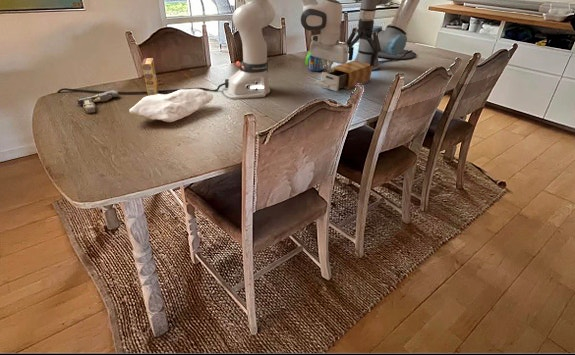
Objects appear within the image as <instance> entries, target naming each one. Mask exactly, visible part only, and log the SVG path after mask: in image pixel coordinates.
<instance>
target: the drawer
mask: <svg viewBox="0 0 575 355" xmlns="http://www.w3.org/2000/svg"><path fill="white" fill-rule="evenodd" d="M320 78H321V79H320V80H316V81H315V82H314V84H315V85H317V86H320V87H321V88H325V89H328V90H331V91H334V92H338V91H339V89H342V87H345V86H348V78H349V73H346V72H342V71H339V70H334V71H333V70H330V71H327V72H325V71H322V72H321V77H320Z"/></svg>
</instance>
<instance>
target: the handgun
mask: <svg viewBox="0 0 575 355" xmlns="http://www.w3.org/2000/svg"><path fill="white" fill-rule="evenodd" d="M107 91H108V92H104V93H96V94H94V95H86V94H85V95H84V94H83V95H81V96H80V97H77V98H76V101H77V104H78V105H82V108H83V109H84V110H85V113H87V114H91V113H95V112H96V104H95V103H98V102H106V101H109V100H111V99H113V98H117V97H119V96H120V94H118V92H119V91H117V90H116V89H112V90H107Z"/></svg>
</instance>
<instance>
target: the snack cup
mask: <svg viewBox="0 0 575 355" xmlns="http://www.w3.org/2000/svg"><path fill="white" fill-rule="evenodd" d="M326 62H327V63H328V60H327V61H326ZM304 64H305V66H306V67H308V68H309V70H310V71H312V72H321V71H323V69H324V65H323V62H322V59H321V58H317V57H314V56H311V55H310V49H309V50H307V54H306V57H305V61H304Z"/></svg>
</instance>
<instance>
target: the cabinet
mask: <svg viewBox="0 0 575 355" xmlns="http://www.w3.org/2000/svg"><path fill="white" fill-rule="evenodd" d="M334 70H339V71H342V72H346V73H349V78H348V86H345V87H342V88H343V89H346V90H351V89H354V88H356V87H355V85H356V84H357V83H363V84H362V85H364V84H368V83H370V82H371V76H372V71H373V70H372V66H370V64H367V63H363V62H359V61H354V60H350V61H347V62H346V63H344V64H337V65H335V66H332V71H334ZM342 88H341V89H342Z"/></svg>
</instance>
